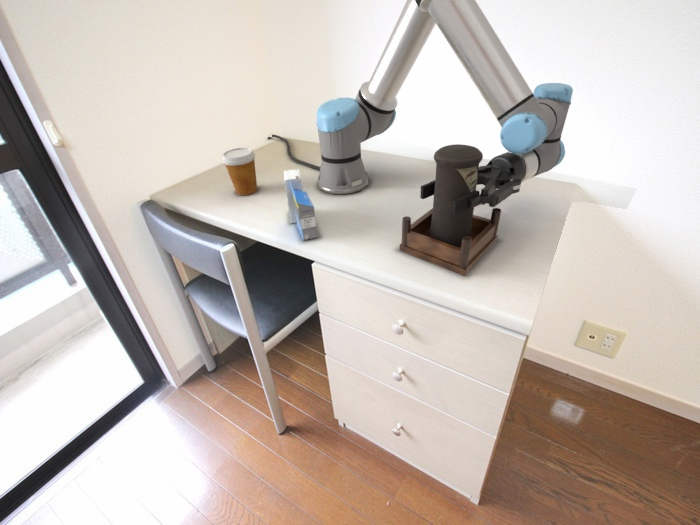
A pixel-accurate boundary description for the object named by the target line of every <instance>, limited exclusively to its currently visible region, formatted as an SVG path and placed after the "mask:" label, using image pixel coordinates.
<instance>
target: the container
mask: <svg viewBox="0 0 700 525" xmlns="http://www.w3.org/2000/svg"><path fill="white" fill-rule="evenodd" d="M483 158H484V155H483V152H482V151H481V150H480V149H479V148H478V147H476V146H472V145H468V144H459V143H458V144H449V145H445V146H442V147H440V148H439V149H437V150H436V151H435V152H434V154H433V161H434V162H435V163H436V164H435V179H434V180H435V190H434V195H433V202H432V208H433V212H432V221H431V231H430V238H433V239H436V240H439V241H442V242H444V243H447V244H450V245H453V246H456V247H461V242H462V237H464V236H469V237H471V229H472V219H473V215H474V210H475V207H474V208H468V209H466V210H464V211H462V212H459V213H457V214H455V215H454V214H452V207H453V200H455V199H458V198H460V197H462V196H465V195H467V194H469V193H472V192H474V191H476V190H477V186H478V185H477V176H478V168H479V167H480V164H481V162H482V160H483Z"/></svg>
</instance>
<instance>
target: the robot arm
mask: <svg viewBox="0 0 700 525" xmlns="http://www.w3.org/2000/svg"><path fill="white" fill-rule="evenodd" d="M435 26H437V27H438V29H439V30H440V32H441V34H442V35H443V37H444V38H445V40H446V41H447V43H448V44H449V46H450V48H451V49H452V51H453V52H454V54H455V56H456V57H457V59H458V60H459V62H460V63H461V65H462V67H463V68H464V70H465V72H466V73H467V75H468V76H469V77H470V79H471V81H472V82H473V83H474V86H475V87H476V89H477V90H478V92H479V94H480V95H481V96H482V98H483V100H484V101H485V103H486V104H487V106H488V108H489V110H490V111H491V112H492V114H493V115H494V117H495V118H496V121H498V123H499V125H500V127H501V129H500V132H499V136H500V137H499V138H500V143H501V145H502V146H503V148H504V149H505V150H506V152H504V153H501V154H499V155H496V156H494V157H493V158H491V159H490V160H489V162H488V163H487V164H486V165H479V168H478V176H477V185H476V186H479V185H483V186H484V187H482V188H481V190H480V191H479V190H477V189H476V191H474V192H472V193H469V194H467V195H465V196H462V197H460V198H458V199H455V200H453V207H452V214H454V215H455V214H457V213H459V212H462V211H464V210H466V209H468V208H474V209H475V208H476V207H478V206H480V205H482V206H484V205H488V206H489V207H490V208H496V207H497V206H498V205H499V204H501V203H502V202H503V201H505V200H506V199H508V198H509V197H510V196H512V195H513V194H517V193H519V192H520V191H521V185H522V183H523V182H525V181H528V180H529V179H533V178H534V177H537V176H539V175H541V174H544V173H548V172H549V171H551V170H552V169H554V168H555V167H557V166H559V165H560V164H561V163H562V161H563V160H564V158H565V155H566V149H565V144H564V142H563V141H562V139H561V138H562V134H563V130H564V127H565V124H566V121H567V120H566V119H567V116H568V114H569V110H570V106H571V104H572V97H573V92H574V89H573V87H572V85H570V84H567V83H561V82H544V83H541V84H538V85H536V86H535V87H534V90H533V91H532V89H531V87H530V86H529V84H528V82H527V81H526V79H525V78H524V76H523V75H522V73H521V71H520V70H519V68H518V67H517V65H516V63H515V62H514V61H513V58H512V57H511V55H510V53H509V52H508V51H507V49H506V47H505V46H504V44H503V42H502V41H501V40H500V38H499V36H498V34H497V33H496V31H495V29H494V28H493V26H492V25H491V23H490V22H489V20H488V18H487V17H486V15H485V14H484V12H483V10H482V8H481V7H480V6H479V4H478V2H477V1H476V0H406V1H405V4H404V6H403V8H402V9H401V12H400V14H399V16H398V19H397V21H396V23H395V25H394V27H393V29H392V32H391V34H390V35H389V38H388V40H387V42H386V45H385V46H384V49H383V51H382V53H381V56H380V58H379V60H378V62H377V63H376V65H375V68H374V70H373V72H372V75H371V76H370V79H369V80H368V81H365V82H363V83H361V85H360V88H359V89H358V92H357V94H356V97H355V98H353V97H338V98H336V99H331V100H328V101H325V102H324V103H322V104H321V105H320V106H318V108H317V111H316V127H317V133H318V141H319V148H320V155H321V156H320V157H321V158H320V159H321V163H320V166H318V165H316V164H312V163H309V162H306V161H303V160H300V159H297V158H296V157H294V156H293V154H292V152H291V147H290V146H291V145H290V142H289V141H288V139H286V138H285V137H282V136H280V135H277V134H271V135H272V137H269V136H267V140H270V139H271V138H276V139H279V140H281V141H283V142H285V145H286V151H287V152H286V153H287V155H288V157H289V158H290V159H291V160H292V161H294V162H296V163H297V164H301V165H304V166H306V167H309V168H311V169H314V170H319V175H318V177H317V184H318V188H319V190H321V191H322V192H324V193H327V194H331V195H349V194H354V193H357V192H360V191H362V190H364V189H365V188H366V187H368V185H369V174H368V172H367V171H366V169H365V165H364V162H363V159H362V147H361V146H362V145H361V144H362V143H363V142H365V141H367V140H370V139H372V138H374V137H376V136H379V135H381V134H383V133H385V132H386V131H387V130H388V129H390V128H391V126H392V125H393V124H394V122H395V119H396V117H397V111H396V108H397V106H398V100H397V95H398V94H399V92H400V90H401V89H402V86H403V85H404V83H405V81H406V79H407V78H408V75H409V74H410V72H411V70H412V68H413V67H414V64H415V63H416V62H417V59H418V58H419V56H420V54H421V52H422V50H423V48H424V46H425V45H426V43H427V41H428V39H429V38H430V36H431V34H432V32H433V30H434V28H435ZM434 190H435V179H434V180H432V181H430V182H427V183H424V184H423V185H420V195H419V196H420V199H422V200H424V199H427V198H429V197H431V196H434Z"/></svg>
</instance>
